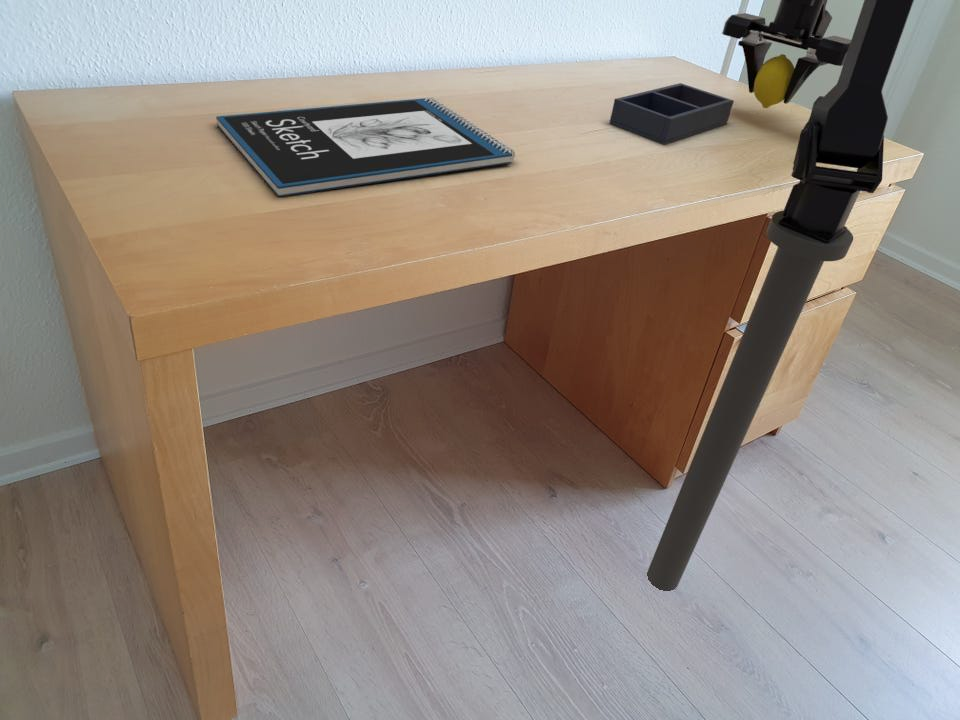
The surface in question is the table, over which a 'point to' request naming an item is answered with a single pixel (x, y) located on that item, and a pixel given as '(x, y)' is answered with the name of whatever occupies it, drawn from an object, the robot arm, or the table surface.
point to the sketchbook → (359, 144)
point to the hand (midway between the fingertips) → (768, 97)
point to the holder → (670, 112)
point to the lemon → (773, 80)
